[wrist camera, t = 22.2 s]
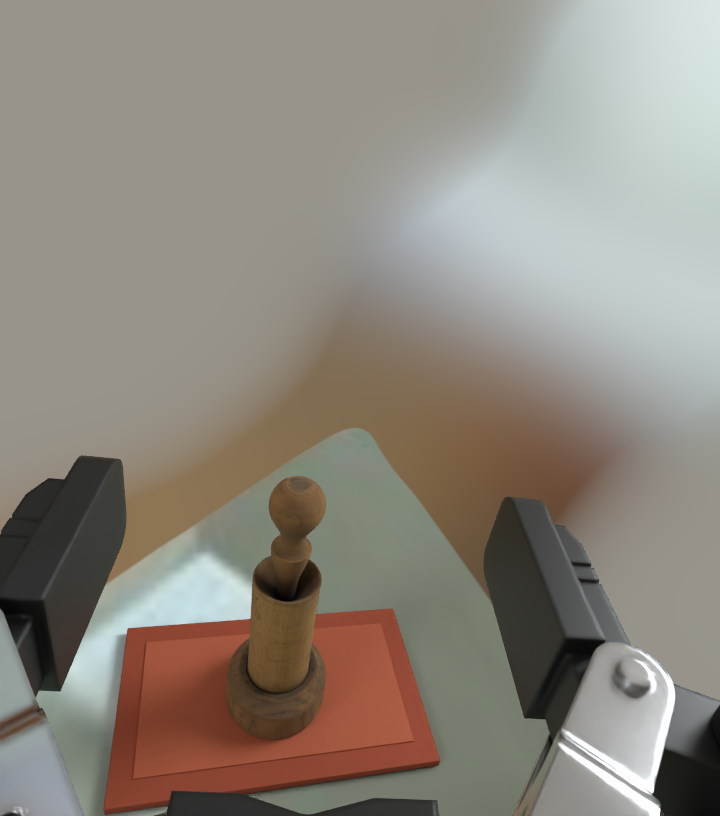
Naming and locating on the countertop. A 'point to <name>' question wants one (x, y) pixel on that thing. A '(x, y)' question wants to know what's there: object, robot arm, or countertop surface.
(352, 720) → the tray
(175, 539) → the countertop surface
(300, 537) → the mortar and pestle
